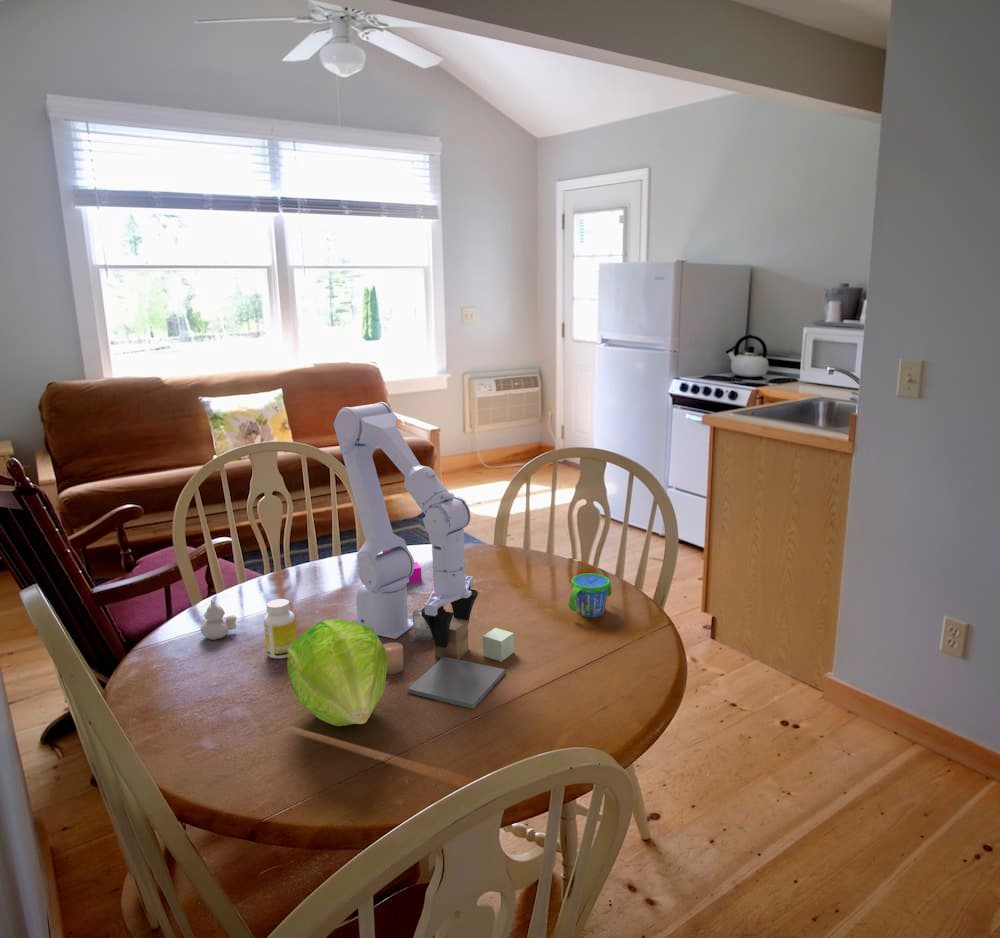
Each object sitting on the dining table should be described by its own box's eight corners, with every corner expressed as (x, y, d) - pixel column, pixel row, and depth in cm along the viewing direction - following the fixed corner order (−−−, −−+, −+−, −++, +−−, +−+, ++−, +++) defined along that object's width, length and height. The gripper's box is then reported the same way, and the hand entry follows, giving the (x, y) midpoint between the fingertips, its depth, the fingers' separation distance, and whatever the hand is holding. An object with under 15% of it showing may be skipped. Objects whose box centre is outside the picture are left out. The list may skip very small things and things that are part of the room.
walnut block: (435, 656, 130) (433, 626, 129) (447, 646, 134) (446, 616, 133) (457, 661, 128) (456, 630, 127) (468, 650, 132) (467, 620, 131)
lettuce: (302, 781, 96) (292, 678, 93) (288, 698, 117) (280, 611, 113) (409, 756, 101) (404, 657, 98) (378, 681, 122) (373, 597, 118)
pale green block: (483, 656, 130) (482, 635, 129) (495, 647, 133) (495, 627, 132) (501, 662, 128) (501, 641, 127) (513, 653, 131) (513, 633, 130)
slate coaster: (408, 693, 118) (407, 688, 118) (443, 660, 128) (443, 656, 128) (473, 708, 113) (473, 704, 113) (505, 673, 123) (504, 669, 123)
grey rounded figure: (201, 635, 140) (196, 596, 138) (236, 628, 143) (232, 590, 141) (203, 646, 135) (198, 606, 134) (239, 638, 138) (235, 600, 136)
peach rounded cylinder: (376, 671, 125) (375, 650, 124) (389, 661, 129) (387, 640, 128) (395, 676, 123) (394, 654, 122) (408, 665, 127) (407, 644, 126)
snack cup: (582, 628, 140) (582, 592, 139) (556, 615, 146) (556, 580, 145) (623, 613, 147) (624, 579, 145) (597, 601, 153) (598, 568, 151)
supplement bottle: (303, 648, 134) (299, 599, 131) (283, 662, 129) (279, 611, 127) (281, 643, 136) (276, 595, 134) (260, 656, 131) (255, 606, 129)
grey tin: (409, 639, 137) (408, 615, 136) (421, 630, 141) (420, 606, 140) (429, 643, 135) (428, 618, 134) (440, 633, 139) (439, 609, 138)
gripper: (449, 583, 119) (452, 658, 122) (487, 556, 132) (488, 624, 135) (412, 578, 122) (416, 651, 125) (453, 551, 135) (455, 618, 138)
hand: (451, 637), depth 130 cm, fingers open, 7 cm apart
